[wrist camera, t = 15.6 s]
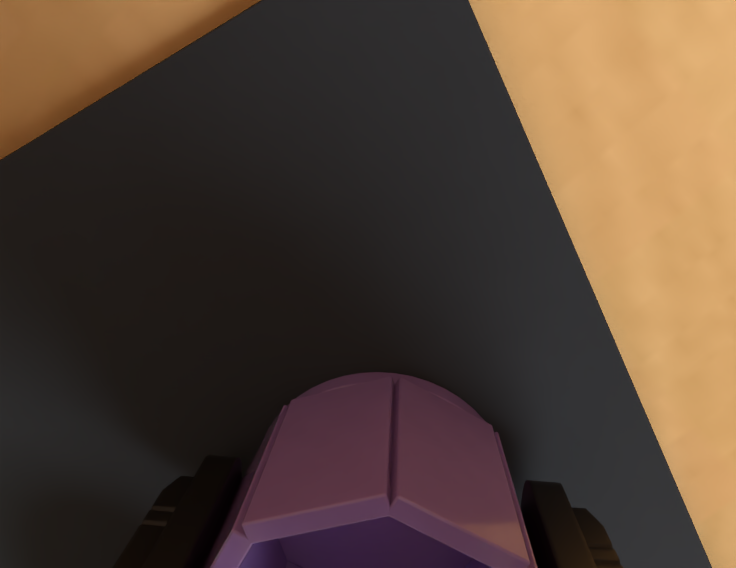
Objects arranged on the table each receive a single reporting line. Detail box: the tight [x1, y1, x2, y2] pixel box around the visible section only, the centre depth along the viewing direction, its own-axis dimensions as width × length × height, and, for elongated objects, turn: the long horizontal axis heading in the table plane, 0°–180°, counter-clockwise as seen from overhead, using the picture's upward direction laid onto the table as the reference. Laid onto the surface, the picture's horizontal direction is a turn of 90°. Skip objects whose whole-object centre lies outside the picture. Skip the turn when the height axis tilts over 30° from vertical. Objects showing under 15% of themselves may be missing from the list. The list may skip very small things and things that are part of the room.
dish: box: [202, 372, 538, 568], centre depth 11 cm, size 6×6×4 cm
